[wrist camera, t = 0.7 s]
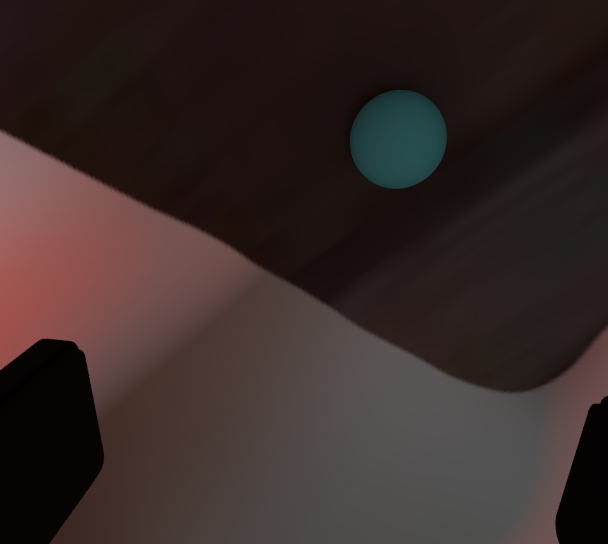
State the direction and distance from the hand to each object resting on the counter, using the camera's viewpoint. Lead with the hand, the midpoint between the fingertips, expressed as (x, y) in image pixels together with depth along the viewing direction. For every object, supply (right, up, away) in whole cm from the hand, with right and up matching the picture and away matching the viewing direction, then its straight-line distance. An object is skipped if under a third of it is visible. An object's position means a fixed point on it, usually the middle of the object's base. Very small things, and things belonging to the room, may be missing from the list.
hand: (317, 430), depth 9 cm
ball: (+6, +11, +21) cm, 25 cm away
